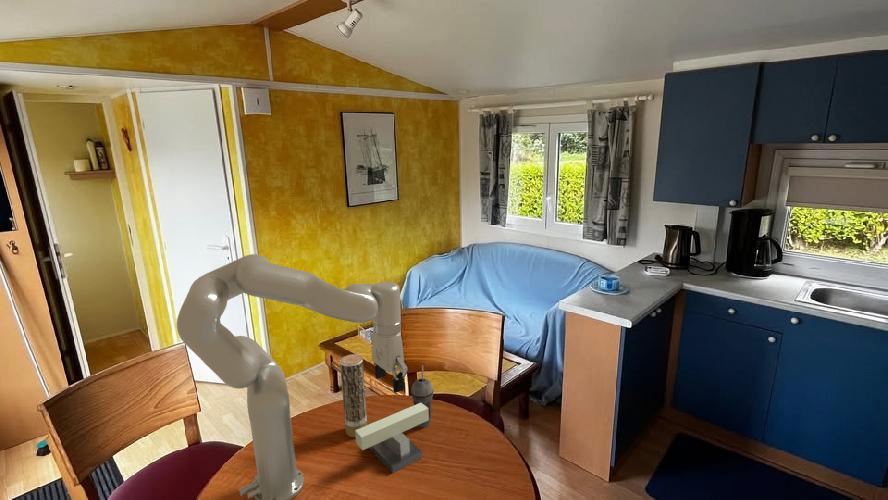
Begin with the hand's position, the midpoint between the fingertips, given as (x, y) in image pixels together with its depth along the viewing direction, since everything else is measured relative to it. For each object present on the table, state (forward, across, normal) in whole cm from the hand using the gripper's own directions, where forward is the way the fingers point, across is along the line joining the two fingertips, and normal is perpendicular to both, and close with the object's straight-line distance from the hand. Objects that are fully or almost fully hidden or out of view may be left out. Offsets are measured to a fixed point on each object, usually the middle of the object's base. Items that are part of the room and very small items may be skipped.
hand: (389, 383), depth 124 cm
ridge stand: (+22, 0, +1) cm, 22 cm away
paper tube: (+23, -16, -3) cm, 28 cm away
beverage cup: (+22, -6, +15) cm, 28 cm away
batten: (+15, 0, +1) cm, 15 cm away
